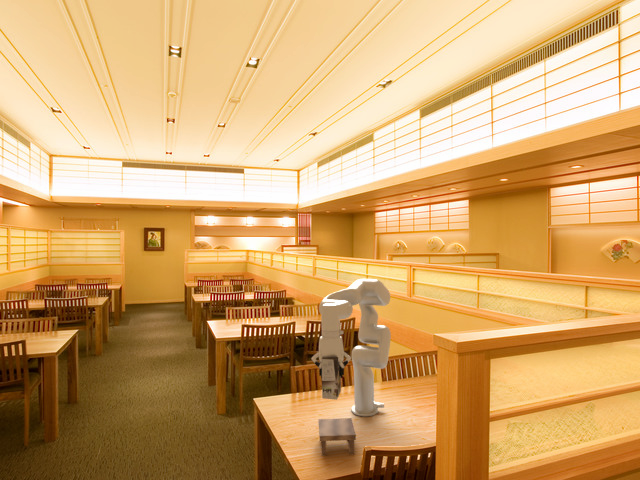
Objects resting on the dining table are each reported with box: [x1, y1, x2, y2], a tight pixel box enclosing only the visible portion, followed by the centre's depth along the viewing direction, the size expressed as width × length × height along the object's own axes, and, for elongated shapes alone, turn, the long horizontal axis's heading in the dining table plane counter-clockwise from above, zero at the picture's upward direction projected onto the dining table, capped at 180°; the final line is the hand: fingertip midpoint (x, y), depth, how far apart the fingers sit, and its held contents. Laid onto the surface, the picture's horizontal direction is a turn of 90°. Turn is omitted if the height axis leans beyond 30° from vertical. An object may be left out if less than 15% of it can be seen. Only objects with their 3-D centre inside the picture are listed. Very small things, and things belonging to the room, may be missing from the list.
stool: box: [318, 417, 357, 457], centre depth 159 cm, size 14×14×8 cm
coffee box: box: [321, 357, 342, 401], centre depth 160 cm, size 9×6×16 cm
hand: (331, 376), depth 160 cm, fingers closed on coffee box, 7 cm apart
